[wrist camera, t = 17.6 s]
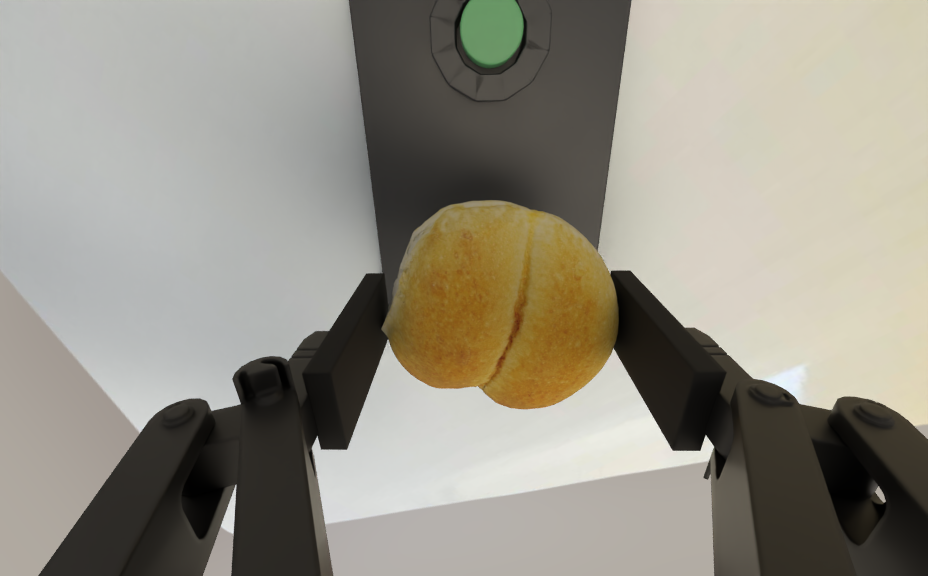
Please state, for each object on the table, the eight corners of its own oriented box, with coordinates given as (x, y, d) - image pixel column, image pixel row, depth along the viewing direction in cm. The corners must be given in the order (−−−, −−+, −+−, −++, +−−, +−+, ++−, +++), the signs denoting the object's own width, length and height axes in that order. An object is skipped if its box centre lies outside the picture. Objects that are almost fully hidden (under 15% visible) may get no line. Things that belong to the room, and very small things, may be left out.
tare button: (460, 0, 18) (459, -11, 16) (520, -2, 18) (525, -13, 16) (461, 69, 19) (460, 65, 17) (518, 67, 19) (522, 64, 17)
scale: (352, -18, 20) (333, -38, 17) (627, -28, 19) (652, -50, 16) (390, 299, 27) (381, 320, 25) (585, 297, 27) (598, 318, 24)
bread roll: (556, 396, 18) (575, 467, 15) (377, 341, 17) (351, 403, 14) (648, 244, 15) (703, 288, 11) (432, 163, 14) (417, 183, 10)
